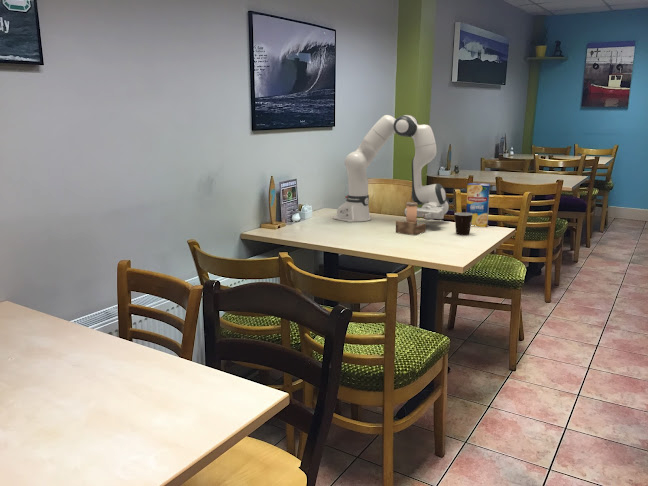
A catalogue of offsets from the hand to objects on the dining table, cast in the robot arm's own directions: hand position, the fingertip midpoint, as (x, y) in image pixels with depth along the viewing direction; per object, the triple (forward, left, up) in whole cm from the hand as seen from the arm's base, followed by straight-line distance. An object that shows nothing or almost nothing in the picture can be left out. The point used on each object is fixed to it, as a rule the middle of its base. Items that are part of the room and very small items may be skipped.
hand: (416, 215), depth 277 cm
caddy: (0, -5, -8) cm, 9 cm away
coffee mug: (+23, +4, -8) cm, 25 cm away
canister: (0, -5, -8) cm, 9 cm away
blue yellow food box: (+20, +29, -8) cm, 37 cm away
